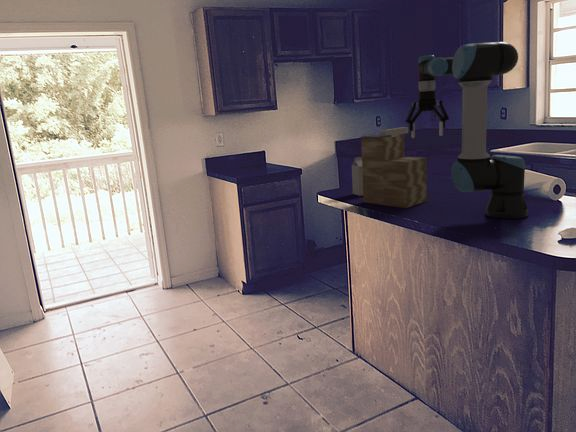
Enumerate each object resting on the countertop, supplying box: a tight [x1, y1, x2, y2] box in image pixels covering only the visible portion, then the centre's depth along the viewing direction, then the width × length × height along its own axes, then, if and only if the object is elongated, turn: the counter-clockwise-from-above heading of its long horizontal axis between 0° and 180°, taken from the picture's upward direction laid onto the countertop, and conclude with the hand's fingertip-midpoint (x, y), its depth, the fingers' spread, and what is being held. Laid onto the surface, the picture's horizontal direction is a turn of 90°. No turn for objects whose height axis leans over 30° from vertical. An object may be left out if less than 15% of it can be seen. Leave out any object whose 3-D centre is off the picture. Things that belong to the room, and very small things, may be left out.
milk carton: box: [351, 156, 363, 197], centre depth 252 cm, size 7×7×19 cm
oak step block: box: [361, 134, 428, 209], centre depth 228 cm, size 16×24×30 cm, turn 41°
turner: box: [361, 126, 409, 139], centre depth 231 cm, size 27×10×3 cm, turn 131°
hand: (427, 136), depth 235 cm, fingers open, 13 cm apart
